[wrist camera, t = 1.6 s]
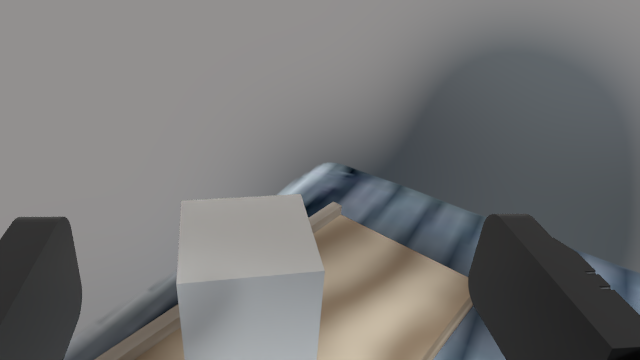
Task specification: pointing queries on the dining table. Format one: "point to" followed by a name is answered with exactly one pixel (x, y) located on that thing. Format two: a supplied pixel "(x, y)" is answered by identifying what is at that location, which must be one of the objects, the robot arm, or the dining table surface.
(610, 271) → the dining table surface
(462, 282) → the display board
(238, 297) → the carton
